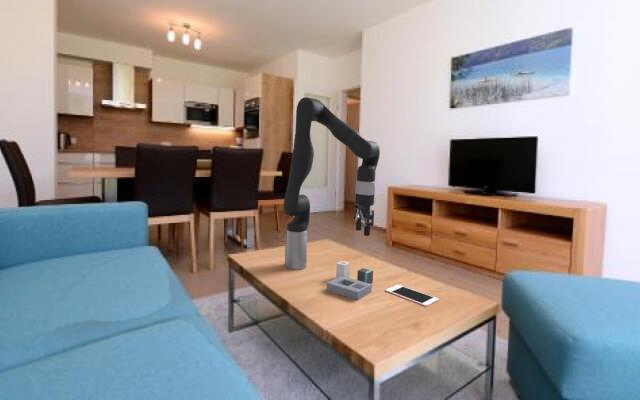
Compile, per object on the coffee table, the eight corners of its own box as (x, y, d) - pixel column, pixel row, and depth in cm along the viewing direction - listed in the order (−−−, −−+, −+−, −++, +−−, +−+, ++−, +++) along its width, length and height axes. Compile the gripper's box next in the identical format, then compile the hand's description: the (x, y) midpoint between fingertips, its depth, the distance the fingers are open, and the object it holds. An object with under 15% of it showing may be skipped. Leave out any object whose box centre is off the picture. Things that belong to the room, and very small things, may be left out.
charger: (336, 279, 144) (336, 262, 143) (341, 276, 147) (342, 260, 146) (344, 281, 142) (344, 265, 141) (349, 278, 145) (349, 262, 144)
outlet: (326, 290, 132) (326, 282, 132) (341, 282, 140) (341, 275, 140) (357, 300, 124) (358, 291, 123) (371, 291, 132) (371, 284, 131)
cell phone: (397, 286, 139) (398, 284, 139) (439, 301, 126) (439, 298, 126) (384, 292, 133) (384, 289, 133) (426, 308, 120) (426, 305, 120)
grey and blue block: (357, 282, 141) (357, 270, 141) (362, 279, 145) (362, 267, 144) (367, 285, 138) (368, 273, 138) (372, 282, 142) (373, 270, 141)
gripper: (349, 190, 140) (347, 228, 143) (363, 195, 127) (360, 237, 129) (366, 190, 142) (364, 228, 145) (381, 195, 129) (378, 237, 131)
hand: (362, 232), depth 137 cm, fingers open, 8 cm apart
